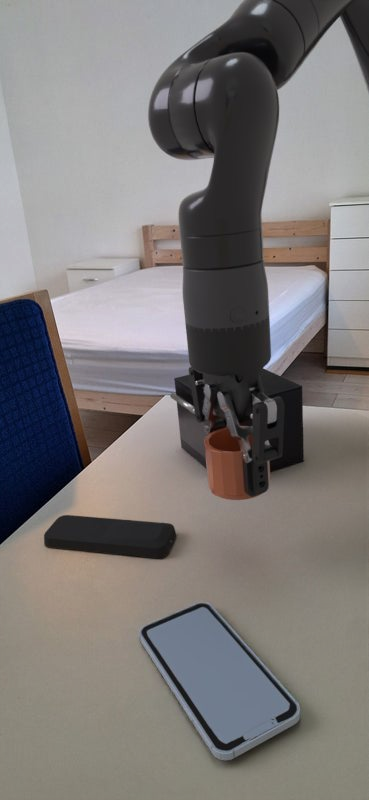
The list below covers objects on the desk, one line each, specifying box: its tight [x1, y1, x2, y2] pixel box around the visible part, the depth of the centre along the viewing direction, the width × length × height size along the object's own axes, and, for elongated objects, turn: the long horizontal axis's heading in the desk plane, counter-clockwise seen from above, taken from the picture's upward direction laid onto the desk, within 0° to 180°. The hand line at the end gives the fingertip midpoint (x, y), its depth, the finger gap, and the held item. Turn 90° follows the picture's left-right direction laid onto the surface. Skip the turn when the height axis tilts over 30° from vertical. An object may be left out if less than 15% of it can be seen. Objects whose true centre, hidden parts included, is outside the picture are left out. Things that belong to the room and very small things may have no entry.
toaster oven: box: [169, 367, 305, 473], centre depth 83 cm, size 14×14×11 cm
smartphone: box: [138, 601, 301, 761], centre depth 49 cm, size 7×1×15 cm
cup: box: [204, 426, 271, 501], centre depth 59 cm, size 6×6×5 cm
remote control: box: [43, 514, 178, 559], centre depth 68 cm, size 5×2×15 cm
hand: (238, 477), depth 59 cm, fingers closed on cup, 6 cm apart
